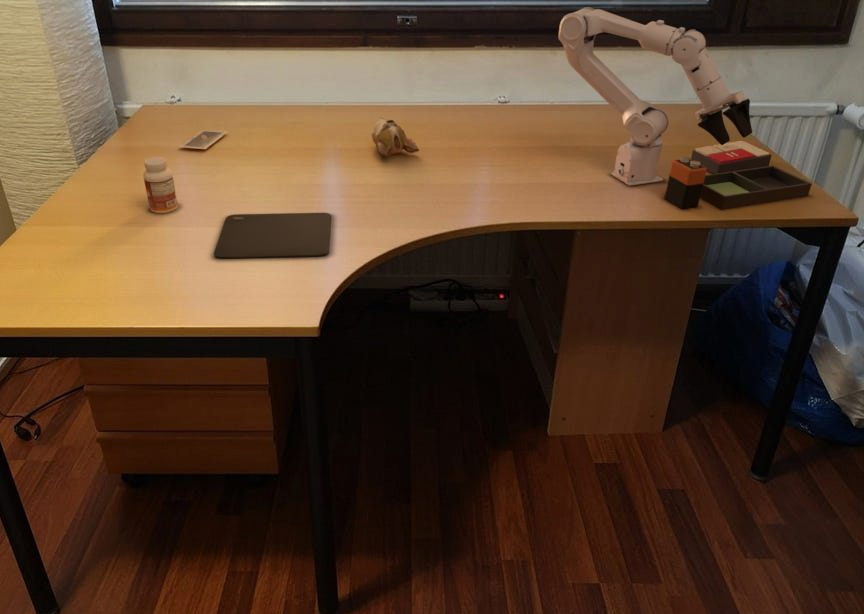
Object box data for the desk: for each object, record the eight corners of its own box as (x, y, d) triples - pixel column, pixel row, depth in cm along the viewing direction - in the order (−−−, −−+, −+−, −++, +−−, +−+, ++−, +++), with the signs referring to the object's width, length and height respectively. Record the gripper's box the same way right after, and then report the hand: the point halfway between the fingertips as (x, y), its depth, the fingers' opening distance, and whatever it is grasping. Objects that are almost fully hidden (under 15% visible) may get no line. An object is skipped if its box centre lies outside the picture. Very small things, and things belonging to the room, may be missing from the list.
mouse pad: (331, 213, 163) (331, 212, 163) (328, 256, 146) (328, 254, 146) (227, 215, 163) (227, 214, 163) (212, 258, 146) (212, 257, 146)
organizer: (721, 209, 164) (724, 197, 162) (686, 189, 174) (689, 177, 172) (808, 196, 170) (812, 183, 168) (769, 177, 180) (773, 165, 178)
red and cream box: (692, 147, 187) (742, 138, 190) (689, 163, 190) (739, 154, 193) (720, 161, 178) (773, 151, 182) (717, 178, 181) (769, 168, 184)
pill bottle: (152, 203, 169) (143, 156, 163) (179, 202, 170) (171, 155, 163) (147, 214, 164) (138, 166, 158) (176, 213, 164) (167, 165, 158)
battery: (682, 210, 164) (692, 166, 159) (663, 198, 169) (672, 156, 164) (698, 207, 165) (709, 164, 160) (679, 196, 171) (689, 153, 165)
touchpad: (229, 135, 209) (228, 127, 208) (206, 153, 197) (204, 145, 195) (203, 133, 210) (202, 125, 209) (179, 150, 198) (177, 142, 197)
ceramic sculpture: (399, 108, 198) (422, 128, 187) (399, 139, 204) (421, 160, 193) (362, 113, 195) (383, 133, 184) (362, 145, 201) (382, 166, 190)
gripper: (743, 64, 155) (773, 121, 157) (702, 85, 169) (729, 137, 171) (717, 81, 154) (747, 138, 156) (678, 100, 168) (706, 152, 170)
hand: (736, 139), depth 164 cm, fingers open, 7 cm apart
